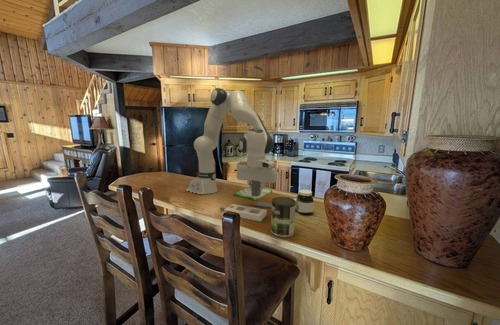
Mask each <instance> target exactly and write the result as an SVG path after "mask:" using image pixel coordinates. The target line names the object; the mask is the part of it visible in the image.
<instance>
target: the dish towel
mask: <svg viewBox="0 0 500 325" xmlns="http://www.w3.org/2000/svg"><path fill="white" fill-rule="evenodd" d="M272 192H273V190H272V189H271V188H269V187H264V186H263V190H262V191H261V195H260V196H258V197H256V196H252V190H251V189H250V186H249V187H247V188H244V189H241V190H239V191H237V192H234V195H233V196H235V197H238V198H242V199H245V200H246V199H247V200H249V201H255V202H256V201H257V200H260V199H261V198H263V197H265V196H268V195H269V194H271V193H272Z"/></svg>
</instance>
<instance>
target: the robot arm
mask: <svg viewBox="0 0 500 325" xmlns="http://www.w3.org/2000/svg"><path fill="white" fill-rule="evenodd" d="M210 102H211V105H210V107H209V108H208V111H207V114H206V118H205V121H204V123H203V128H204V129H203V135H201V136H198V137H197V138H196V139H195V140H194V142H193V147H194V150H195V151H196V155H197V159H198V172H196V177H194V179H192V180H191V181H189V185H188V187H187V188H186V189H185V192H188V191H190V192H189V193H192V192H193V193H192V194H195V193H197V194H196V195H199V194H201V195H208V194H214V193H217V192H218V187H217V181H216V178H217V175H216V174H217V173H216V172H217V171H216V161H215V160H216V159H215V158H214V154H213V152H214V150H215V149H216V148H217V147H218V145H219V137H220V133H221V132H220V131H221V129H222V125H223V122H224V119H225V116H226V113H227V112H229V113H230V114H231V116H232V118H233V119H234V120H235V121H237V122H238V123H242V124H246V125H249V126H251V127H253V128H250V129H248V131H247V134H245V135H242V136H241V137H240V139H239V140H238V150H239V151H240V152H241V153H242V154H246V155H247V156H246V160H247V161H238V162H237V164H236V169H237V170H236V179H237V180H240V181H246V182H247V185H248V186H249V187H250V189H251V190H252V180H254V181H258V182H261V186H260V187H259V190H260V191H262V190H263V187H264V186H265V184H267V183H268V184H275V183H276V182H277V180H278V178H277V176H278V174H277V169H276V167H275V165H276V164H275V161H273V160H270V159H267V158H266V155H269V153H271V152H272V151H273V149H274V148H275V142H274V139H273V138H272V135H270V133H269V132H268V130H267V128H266V126H265V124H264V122H263V121H262V119H261V117H260V115H259V114H258V113H257V112H255V110H253V109H252V108H251V106H250V103H249V101H248V99H247V96H246V95H245V93H244V92H243V91H241V90H239V89H236V90H233V91H229V90H225V89H224V88H221V87H217V88H215V89H213V90H212V92H211V94H210Z"/></svg>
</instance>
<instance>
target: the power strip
mask: <svg viewBox="0 0 500 325" xmlns="http://www.w3.org/2000/svg"><path fill="white" fill-rule="evenodd" d="M219 209H220V210H221V211H222V210H223V213H224V212H226V211H232V212H236V213H239V214H240V217H241V218H240V219H242V220H247V221H253V222H258V223H261V222H262V221H263V220H264V219H265V218H266V217H267V215H268V210H267V209H266V208H265V209H264V208H260V207H254V206H246V205H241V204H234V203H232V204H230V205H229V206H227V207H226V208H225V207H220V208H219Z"/></svg>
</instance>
